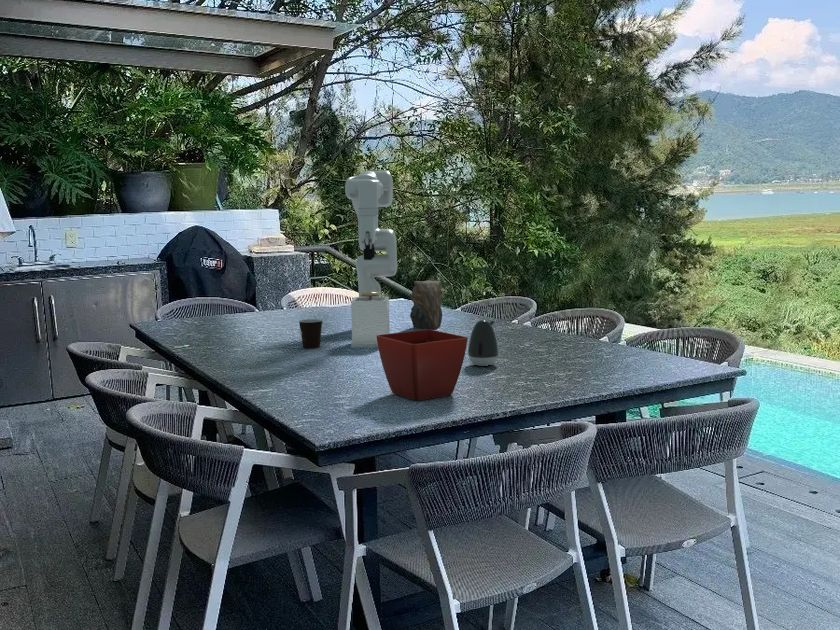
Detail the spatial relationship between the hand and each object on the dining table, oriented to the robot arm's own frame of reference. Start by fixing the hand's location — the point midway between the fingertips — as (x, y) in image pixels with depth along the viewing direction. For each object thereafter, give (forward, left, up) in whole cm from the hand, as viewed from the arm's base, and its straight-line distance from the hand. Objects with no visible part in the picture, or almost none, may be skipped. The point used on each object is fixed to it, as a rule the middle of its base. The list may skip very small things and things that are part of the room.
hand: (369, 258), depth 324 cm
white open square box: (0, 0, -33) cm, 33 cm away
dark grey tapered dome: (+43, +41, -33) cm, 68 cm away
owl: (-42, +21, -33) cm, 57 cm away
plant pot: (+85, +22, -33) cm, 94 cm away
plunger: (0, 0, -30) cm, 30 cm away
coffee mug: (+3, -22, -33) cm, 40 cm away
